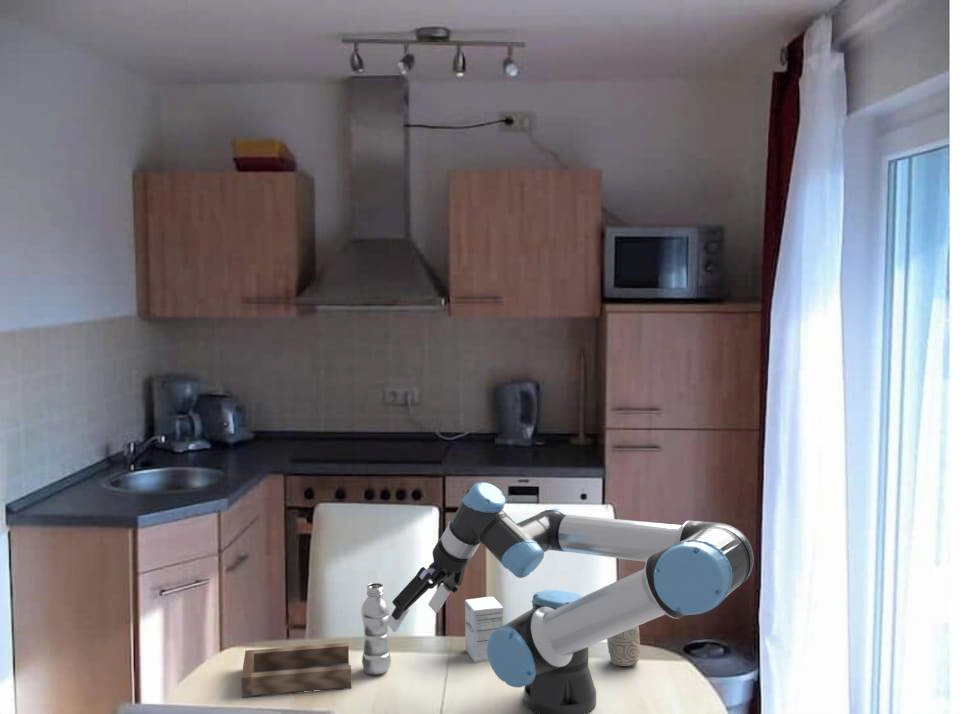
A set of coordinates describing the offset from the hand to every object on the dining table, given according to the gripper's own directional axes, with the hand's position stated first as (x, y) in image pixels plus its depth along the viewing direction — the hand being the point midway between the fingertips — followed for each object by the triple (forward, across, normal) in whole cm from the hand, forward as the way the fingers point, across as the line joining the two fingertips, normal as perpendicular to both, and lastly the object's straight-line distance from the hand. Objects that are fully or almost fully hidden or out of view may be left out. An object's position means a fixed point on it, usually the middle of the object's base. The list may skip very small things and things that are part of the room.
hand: (412, 617), depth 201 cm
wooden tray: (+27, +11, -11) cm, 31 cm away
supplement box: (+12, -23, +10) cm, 28 cm away
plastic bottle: (+20, -2, -1) cm, 20 cm away
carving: (-4, -39, +34) cm, 51 cm away
